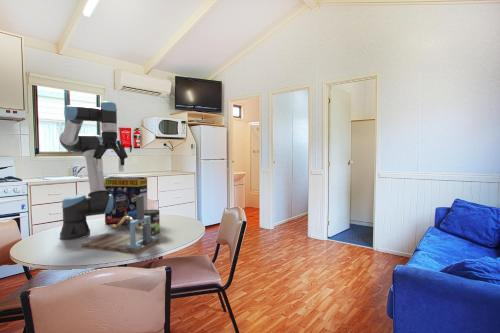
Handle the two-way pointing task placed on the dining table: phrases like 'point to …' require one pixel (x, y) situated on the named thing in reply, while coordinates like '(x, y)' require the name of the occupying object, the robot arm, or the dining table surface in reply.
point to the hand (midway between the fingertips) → (110, 171)
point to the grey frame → (140, 219)
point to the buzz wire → (144, 229)
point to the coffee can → (153, 221)
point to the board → (115, 243)
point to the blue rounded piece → (133, 215)
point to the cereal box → (124, 196)
